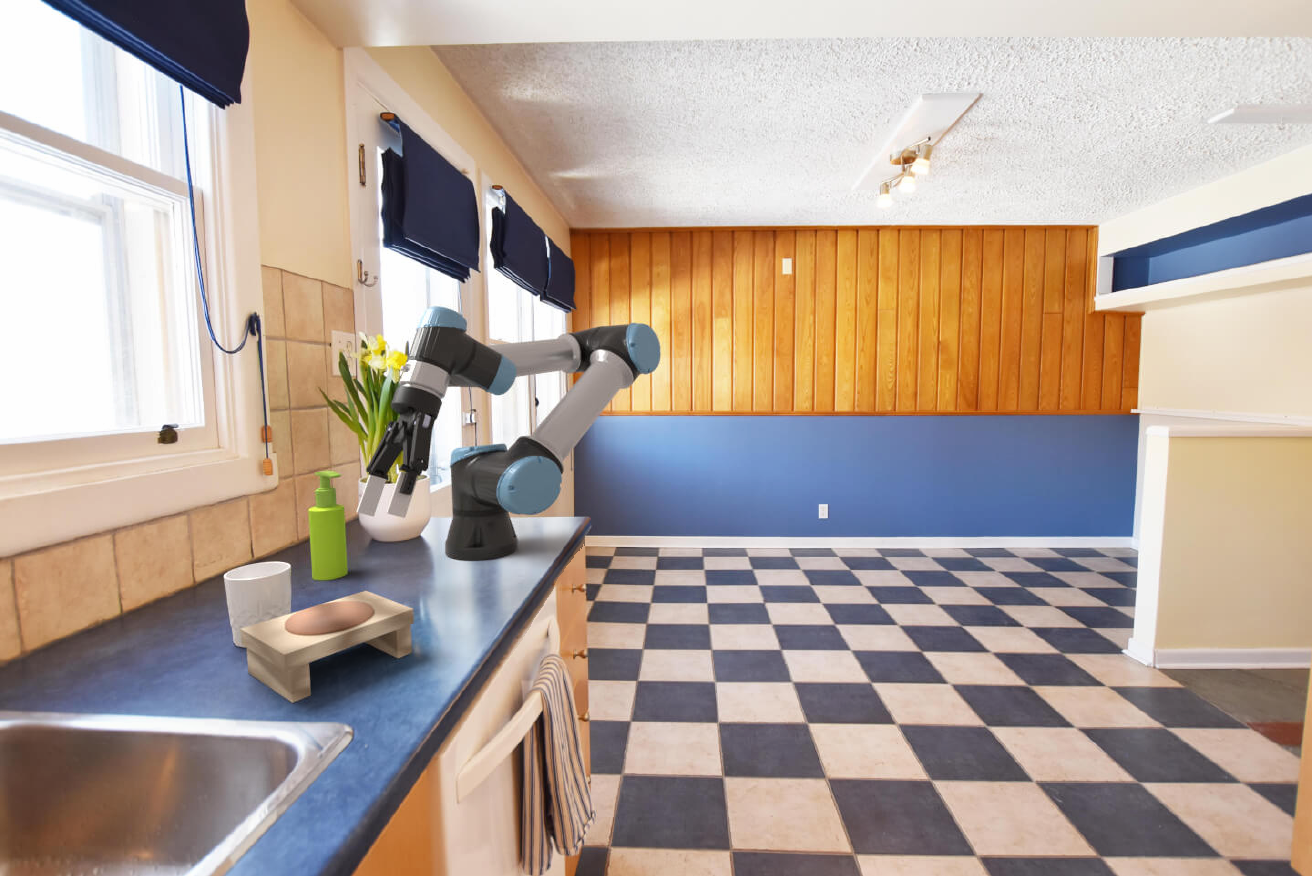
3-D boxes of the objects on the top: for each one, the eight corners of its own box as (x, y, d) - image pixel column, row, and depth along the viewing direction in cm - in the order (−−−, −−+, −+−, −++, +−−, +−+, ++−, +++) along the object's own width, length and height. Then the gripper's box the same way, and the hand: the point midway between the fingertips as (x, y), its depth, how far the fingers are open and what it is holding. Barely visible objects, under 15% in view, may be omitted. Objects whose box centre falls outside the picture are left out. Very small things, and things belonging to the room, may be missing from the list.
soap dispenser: (326, 583, 105) (320, 475, 103) (306, 576, 109) (299, 472, 107) (357, 574, 110) (351, 470, 108) (336, 568, 114) (331, 468, 112)
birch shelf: (367, 629, 86) (365, 588, 85) (415, 651, 79) (413, 606, 79) (243, 674, 73) (240, 625, 72) (287, 705, 66) (284, 651, 65)
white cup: (258, 624, 88) (254, 560, 87) (307, 627, 87) (303, 562, 86) (214, 648, 80) (208, 578, 79) (267, 651, 79) (262, 580, 78)
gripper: (372, 394, 105) (331, 508, 99) (430, 372, 87) (384, 509, 81) (412, 409, 110) (375, 519, 103) (474, 391, 92) (434, 522, 86)
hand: (379, 515), depth 92 cm, fingers open, 13 cm apart
